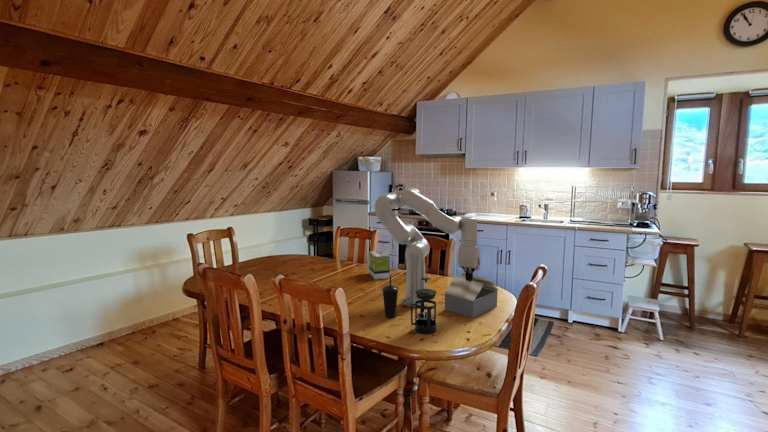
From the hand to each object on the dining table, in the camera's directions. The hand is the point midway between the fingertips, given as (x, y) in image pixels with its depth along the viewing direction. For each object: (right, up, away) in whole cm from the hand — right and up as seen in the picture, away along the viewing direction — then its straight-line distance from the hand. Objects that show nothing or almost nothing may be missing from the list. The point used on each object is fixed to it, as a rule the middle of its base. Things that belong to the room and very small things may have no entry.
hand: (469, 280), depth 198 cm
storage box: (+2, -14, +5) cm, 15 cm away
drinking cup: (-38, -16, -6) cm, 42 cm away
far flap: (+7, -2, +8) cm, 11 cm away
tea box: (-44, -7, +62) cm, 76 cm away
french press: (-24, -18, -21) cm, 37 cm away
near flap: (-3, -4, -1) cm, 5 cm away
